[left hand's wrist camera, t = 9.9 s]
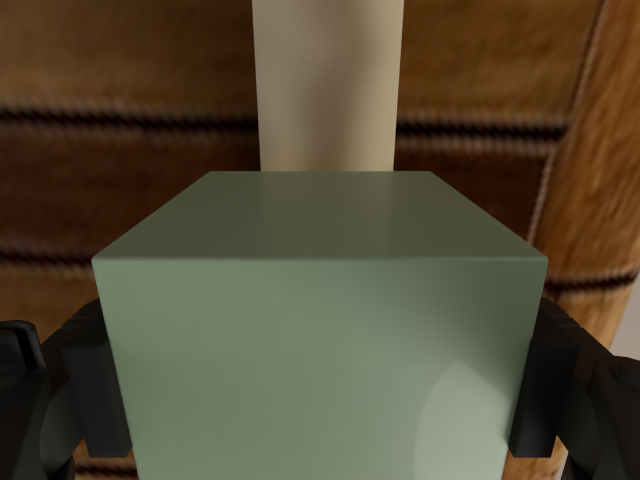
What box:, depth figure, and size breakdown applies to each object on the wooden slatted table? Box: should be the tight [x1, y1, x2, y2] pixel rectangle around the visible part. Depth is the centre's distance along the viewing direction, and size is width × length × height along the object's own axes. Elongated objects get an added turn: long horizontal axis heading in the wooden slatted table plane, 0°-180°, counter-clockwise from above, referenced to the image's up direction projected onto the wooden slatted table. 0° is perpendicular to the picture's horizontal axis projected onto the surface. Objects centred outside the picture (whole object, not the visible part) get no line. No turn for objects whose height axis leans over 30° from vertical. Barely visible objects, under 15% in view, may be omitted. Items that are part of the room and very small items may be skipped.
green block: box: [92, 171, 549, 480], centre depth 12 cm, size 8×6×8 cm
